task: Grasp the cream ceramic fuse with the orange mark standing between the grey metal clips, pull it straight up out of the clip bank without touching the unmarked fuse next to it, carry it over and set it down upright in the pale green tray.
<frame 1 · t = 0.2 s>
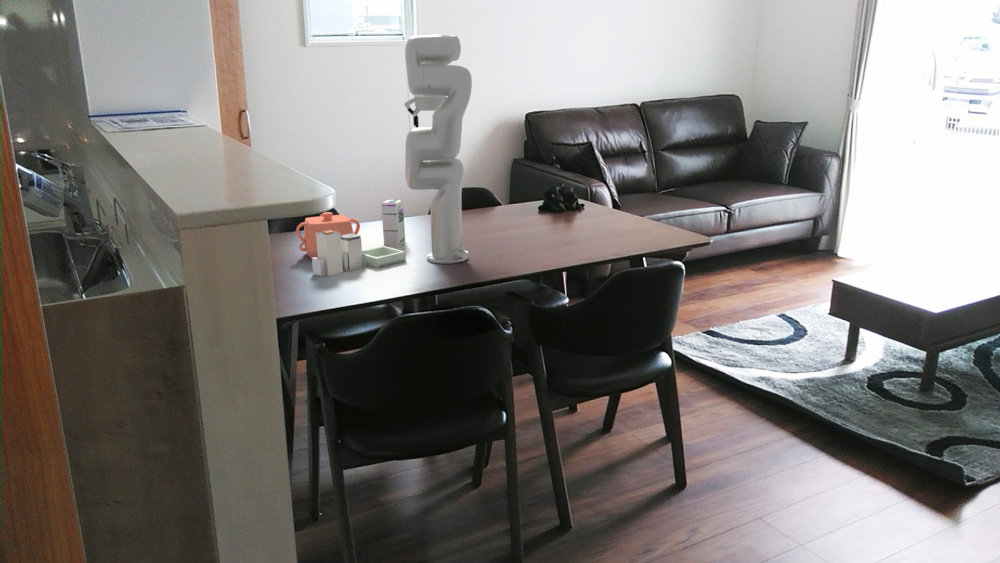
hand: (431, 127, 267), 37 cm above the table, tool pointing down, fingers open, 9 cm apart
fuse: (330, 272, 235), on the table
tray: (380, 261, 246), on the table
syrup box: (394, 244, 268), on the table
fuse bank: (340, 269, 237), on the table
teapot: (328, 253, 257), on the table
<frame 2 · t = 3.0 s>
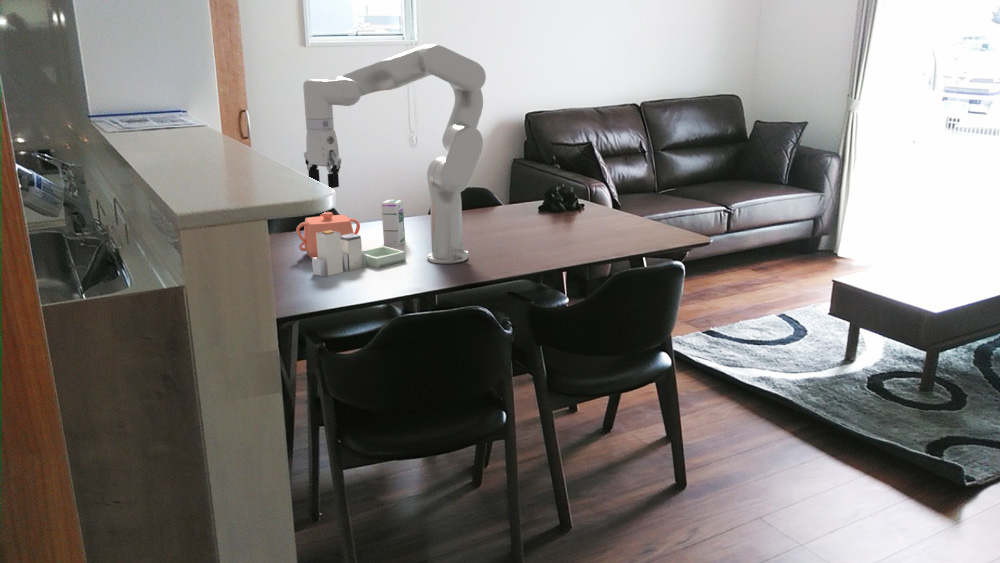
hand: (324, 185, 227), 26 cm above the table, tool pointing down, fingers open, 9 cm apart
nothing on the table moved.
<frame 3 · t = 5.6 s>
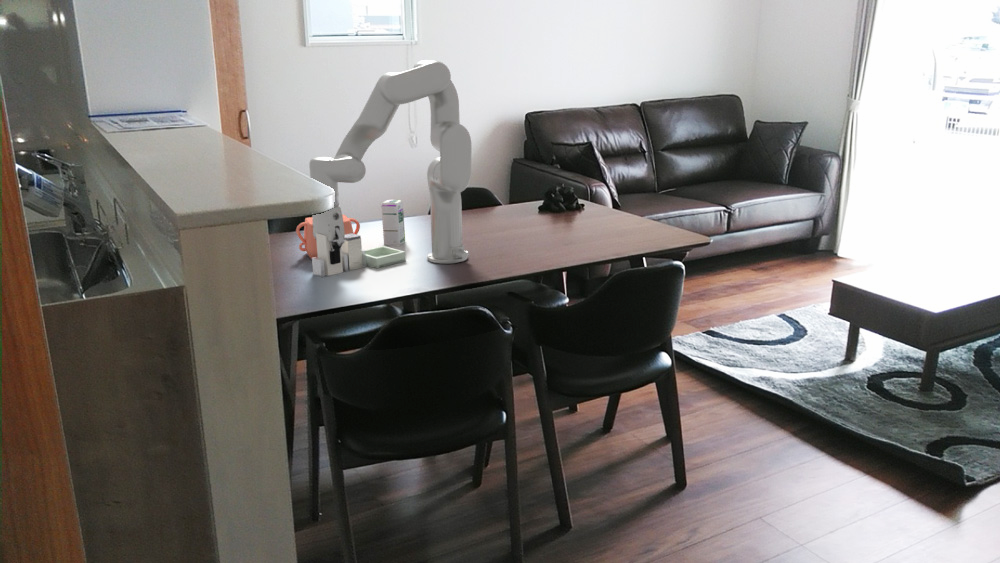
hand: (330, 261, 234), 3 cm above the table, tool pointing down, fingers closed on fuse, 5 cm apart
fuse: (330, 272, 235), on the table, touching gripper
everything else where it was.
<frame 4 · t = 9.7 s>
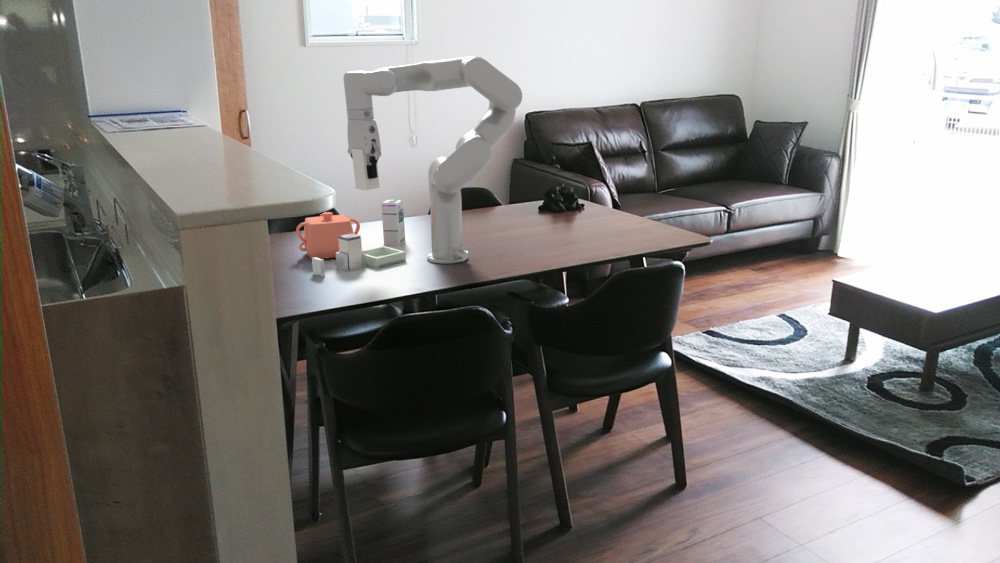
hand: (366, 176, 236), 27 cm above the table, tool pointing down, fingers closed on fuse, 5 cm apart
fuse: (367, 188, 237), point 23 cm above the table, touching gripper
everything else where it was.
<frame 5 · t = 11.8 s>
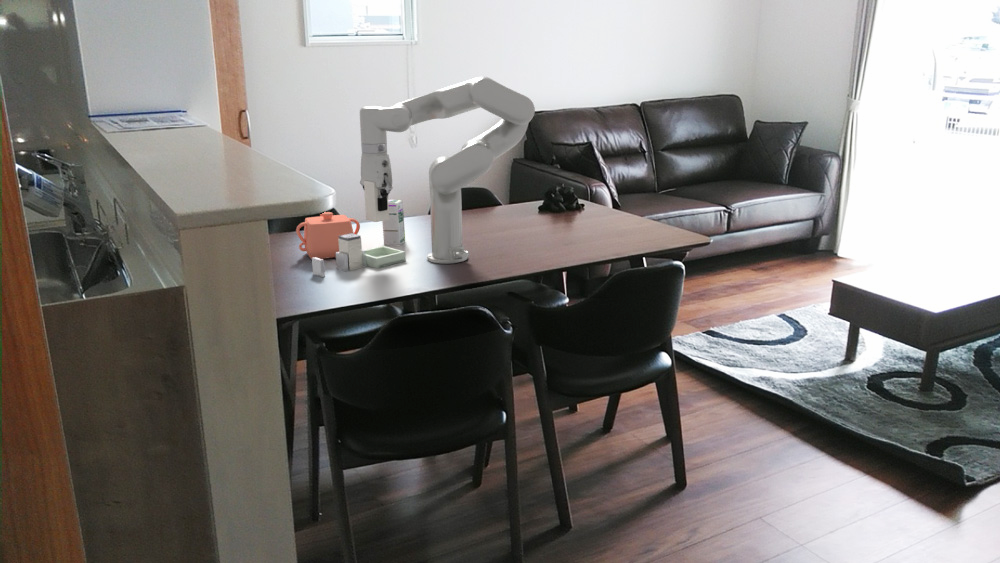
hand: (377, 208, 241), 17 cm above the table, tool pointing down, fingers closed on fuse, 5 cm apart
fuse: (377, 219, 242), point 13 cm above the table, touching gripper
everything else where it was.
when the fingers open (6 cm above the table, at t = 13.9 s): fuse drops 1 cm, resting on tray.
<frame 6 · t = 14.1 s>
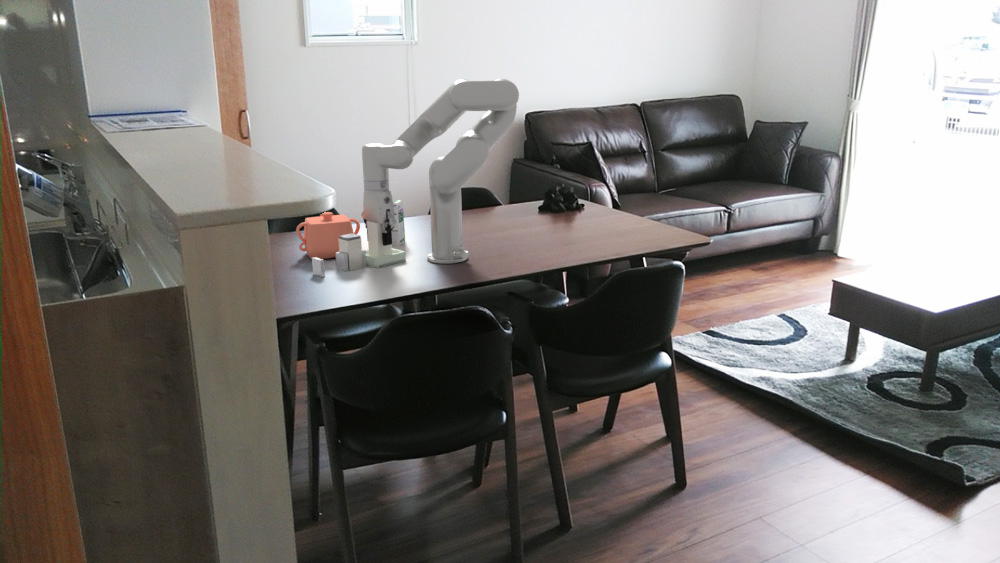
hand: (379, 242, 244), 6 cm above the table, tool pointing down, fingers open, 7 cm apart
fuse: (380, 258, 246), point 1 cm above the table, touching tray
everything else where it was.
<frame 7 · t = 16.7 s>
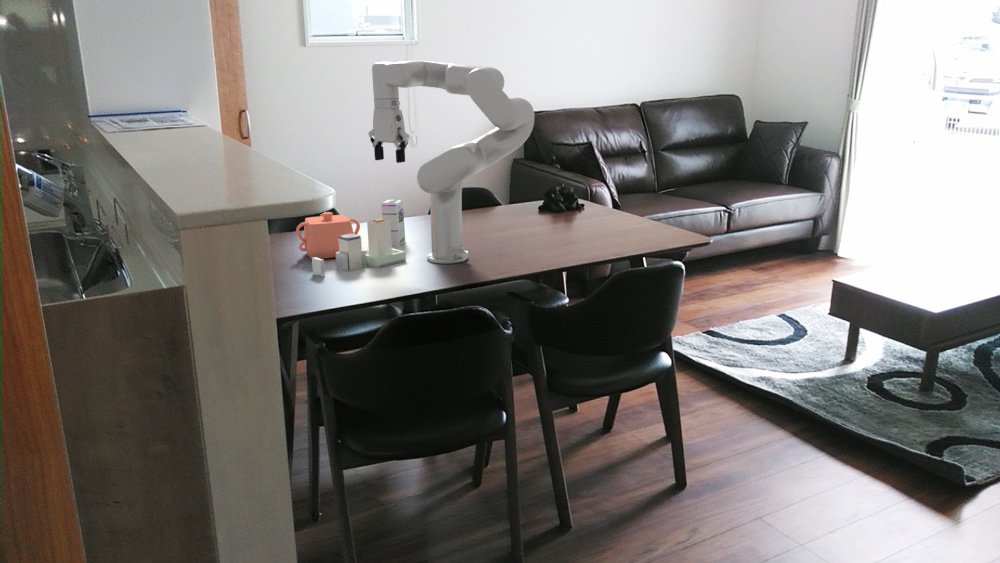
hand: (390, 161, 245), 30 cm above the table, tool pointing down, fingers open, 9 cm apart
nothing on the table moved.
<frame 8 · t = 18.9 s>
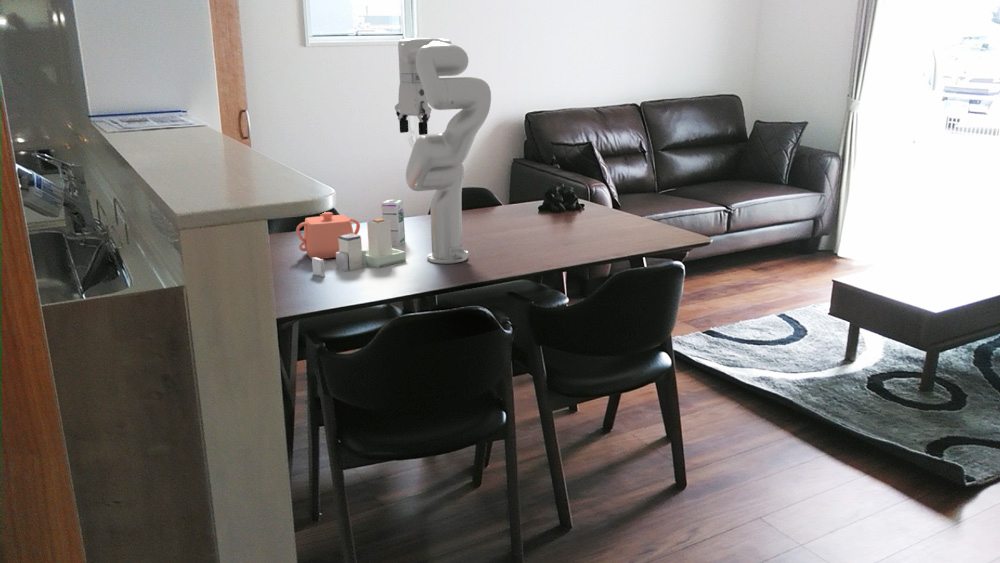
hand: (413, 133, 259), 36 cm above the table, tool pointing down, fingers open, 9 cm apart
nothing on the table moved.
at the end: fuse inside the target area on the tray (0.1 cm from its centre), point 0.8 cm above the tray's base; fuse tilted 0°; the gripper is holding nothing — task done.
